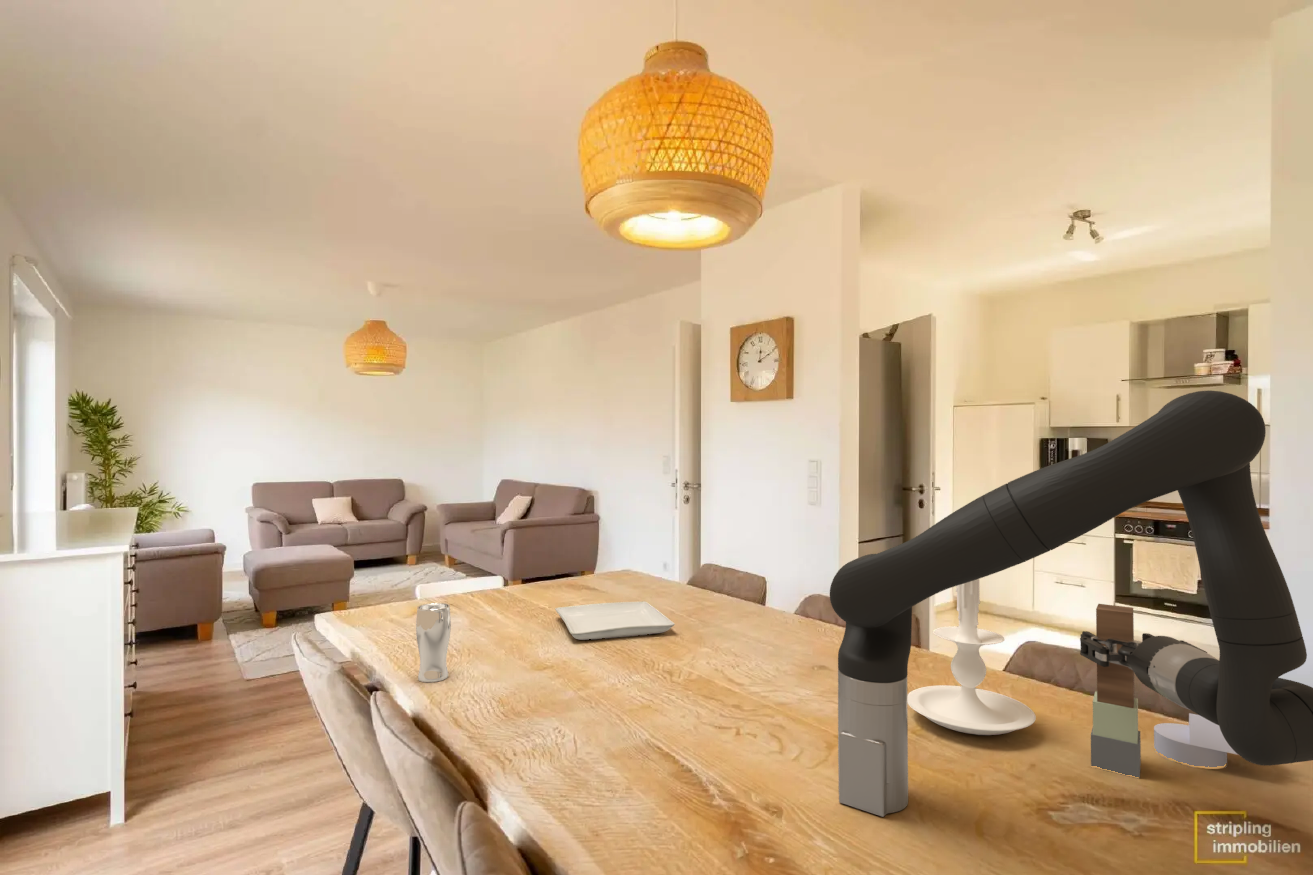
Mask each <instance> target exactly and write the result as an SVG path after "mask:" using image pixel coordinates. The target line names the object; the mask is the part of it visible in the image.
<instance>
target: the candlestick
mask: <svg viewBox="0 0 1313 875" xmlns="http://www.w3.org/2000/svg"><path fill="white" fill-rule="evenodd" d="M955 587H956V589H955V592H956V611H957V612H958V616H957V620H958V626H954V625H953V626H952V625H951V626H941V627H937V628H935V629H933V631H932V633H933V634H934V635H935V636H937V637H938V638H941V639H943V640H946V641H949V642H953V643H954V644H956V646H957V651H956V653H955V654H954V655H953V657H952V660H951V662H950V671H951V673H952V676H953V677H954V679H955V680H956V682H957V683H958V684H960V685H945V684H943V685H942V684H941V685H928V686H922V687H919V688H916V689H914V690H913V689H912V690H911V691H910V692H908V693H907V706H909V707H910V708H911V709H912V710H914V711H915V712H916V713H918V714H920V715H922V716H924V717H925V718H927V719H928V720H929V721H931V722H933V723H935V724H937V725H939V726H941V727H944V728H946V729H949V730H953V731H956V732H959V733H965V734H970V735H977V736H992V735H994V736H997V735H1002V734H1003V735H1004V734H1008V733H1011V732H1014V731H1018V730H1022V729H1025V728H1027V727H1030V726H1032V725H1033V724H1034V723H1035V721H1036V719H1037V716H1036V713H1035V712H1034V710H1032V708H1030V707H1029V706H1028V705H1026V704H1025V703H1024V702H1022V701H1019V700H1018V699H1015V698H1013V697H1010V696H1007V695H1005V694H1001V693H999V692H995V691H991V690H986V689H982V688H977V687H978V686H979V685H980V684H982V682H984V679H985V678H986V675H987V667H986V662H985V661H984V659H983V658H982V656H981V654H980V648H981V647H983V646H989V645H990V646H991V645H996V644H1001V643H1003V642H1004V641H1005V639H1006V638H1005V637H1004V636H1003V635H1002V634H999V633H997V632H995V631H991V630H988V629H985V628H984V629H983V628H978V625H979V613H980V609H979V606H980V604H981V601H980V600H981V598H980V579H977V580H974V581H970V582H967V583H964V584H961V585H957V586H955Z"/></svg>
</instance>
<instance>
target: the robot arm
mask: <svg viewBox="0 0 1313 875" xmlns="http://www.w3.org/2000/svg"><path fill="white" fill-rule="evenodd" d="M1266 430H1267V429H1266V424H1265V421H1264V418H1263V416H1262V414H1261V412H1260V411H1259V410H1258V409H1257V407H1255V405H1253V404H1252V403H1251V402H1249V401H1248V400H1246V399H1244V398H1242V397H1241V396H1238V395H1236V394H1233V393H1228V392H1224V391H1221V390H1199V391H1194V392H1189V393H1186V394H1183V395H1179V396H1177V397H1176V398H1174V399H1171V400H1170V401H1169V402H1168V403H1166V404H1165V405H1163V406H1162V407H1161V408H1160V409H1159V411H1157V412H1156V413H1155V414H1154V415H1152V416H1150V417H1149V418H1147V419H1146V420H1144V421H1143V422H1141V423H1139V424H1138V425H1136V426H1134V427H1133V428H1131V429H1130V430H1127V431H1126V432H1124V433H1123V434H1120V435H1119V436H1117V437H1116V438H1114V439H1112V440H1111V441H1108V442H1107V443H1105V444H1103V445H1101V446H1099V447H1097V448H1094V449H1092V450H1090V451H1088V452H1085V453H1083V454H1079V455H1077V456H1074V457H1071V458H1068V459H1065V460H1061V461H1059V462H1056V463H1053V464H1050V465H1047V466H1044V467H1041V468H1039V469H1036V470H1034V471H1031V472H1029V473H1027V474H1024V475H1022V476H1020V477H1017V478H1015V479H1013V480H1010V481H1009V482H1008V481H1007V483H1005V484H1002V485H1001V486H999V487H997V488H995V489H993V490H991V491H988V492H986V493H985V494H983V495H980V496H979V497H977V498H975V499H973V500H972V501H970V502H969V503H966V504H965V505H963V506H962V507H960V508H958V509H956V510H955V511H953V512H952V513H950V514H949V515H947V516H945V517H944V518H942V519H941V520H939V521H937V522H936V523H935V524H933V525H931V526H930V527H928V528H927V529H926V530H924V531H923V532H921V533H920V534H918V535H916V536H915V537H913V538H911V539H909V540H907V541H905V542H903V543H901V544H898V545H895V546H892V547H891V548H889V549H885V550H882V551H879V552H878V553H870V554H865V555H862V556H860V557H857V558H854V559H853V560H850V561H848V562H847V563H845V564H844V565H843V566H842V567H841V568H839V569H838V571H837V572H836V573H835V575H834V576H833V579H832V581H831V583H830V584H831V585H830V588H829V600H830V605H831V607H832V609H833V611H834V613H835V614H836V615H837V616H838V617H839V618H840V619H841V620H842V621H844V622H845V628H844V634H843V637H842V641H841V643H840V645H839V649H838V652H837V653H838V655H837V711H838V712H837V719H838V720H837V726H838V727H837V730H838V732H837V736H838V737H837V744H838V746H837V748H838V750H837V751H838V752H837V753H838V754H837V755H838V758H837V759H838V760H837V763H838V775H837V776H838V802H839V803H841V804H844V805H846V806H850V807H852V808H855V809H857V810H862V811H864V812H867V813H869V814H870V813H871V814H873V815H877V816H879V817H885V816H886V815H887V814H891V813H897V812H900V811H902V810H903V809H905V808H906V807H907V806H908V804H909V758H908V757H909V755H908V754H909V752H908V751H909V750H908V749H909V743H908V741H909V740H908V738H909V734H908V729H909V728H908V727H909V726H908V724H909V723H908V720H909V719H908V718H909V717H908V703H907V695H908V669H909V668H908V665H909V659H910V654H911V647H912V628H913V627H912V626H913V625H912V624H913V623H912V622H913V621H912V620H913V619H912V617H913V607H914V606H916V605H917V604H919V603H921V602H924V601H925V600H927V599H929V598H930V597H932V596H935V595H936V594H939V593H941V592H943V591H945V590H948V589H951V588H954V587H956V586H957V585H961V584H964V583H967V582H970V581H974V580H977V579H979V580H980V579H982V578H985V577H988V576H991V575H994V574H997V573H999V572H1002V571H1005V570H1007V569H1009V568H1011V567H1015V566H1017V565H1019V564H1023V563H1025V562H1028V561H1030V560H1032V559H1035V558H1037V557H1039V556H1041V555H1043V554H1045V553H1048V552H1050V551H1053V550H1055V549H1057V548H1059V547H1061V546H1064V545H1065V544H1066V543H1070V542H1071V541H1073V540H1075V539H1077V538H1079V537H1081V536H1083V535H1085V534H1087V533H1089V532H1091V531H1092V530H1094V529H1096V528H1098V527H1100V526H1102V525H1104V524H1105V523H1107V522H1109V521H1111V520H1113V519H1114V518H1117V516H1119V515H1121V514H1122V513H1124V512H1127V511H1128V510H1131V509H1132V508H1135V507H1137V506H1139V505H1142V504H1144V503H1147V502H1148V501H1152V500H1154V499H1158V498H1160V497H1162V496H1165V495H1166V496H1167V495H1168V494H1170V493H1175V492H1176V491H1177V492H1178V495H1179V497H1180V500H1181V502H1182V506H1183V508H1184V511H1185V515H1186V518H1187V521H1188V524H1189V528H1190V531H1191V534H1192V539H1193V542H1194V547H1195V552H1196V557H1197V560H1198V565H1199V569H1200V574H1201V579H1202V584H1203V589H1204V593H1205V597H1206V602H1207V605H1208V606H1207V607H1208V610H1209V613H1210V617H1211V621H1212V626H1213V628H1214V633H1215V636H1216V640H1217V644H1218V649H1219V659H1218V658H1216V657H1214V656H1213V655H1211V654H1210V653H1208V651H1206V650H1204V649H1201V648H1200V647H1197V646H1196V645H1194V644H1191V643H1189V642H1187V641H1185V640H1179V639H1177V638H1175V637H1171V636H1166V635H1153V634H1151V633H1145V632H1144V633H1142V634H1141V635H1142V636H1141V638H1142V639H1141V640H1142V641H1139V640H1135V639H1134V641H1128V640H1123V639H1119V638H1114V637H1113V638H1109V639H1103V638H1099V637H1098V636H1096V634H1094V633H1092V632H1090V631H1086V630H1085V631H1084V630H1083V631H1081V633H1080V638H1079V642H1080V651H1079V654H1080V655H1081V656H1083V657H1084V658H1085V659H1087V660H1089V661H1091V662H1093V663H1094V664H1096V665H1097V664H1098V665H1100V666H1103V667H1109V662H1111V663H1115V664H1119V665H1123V666H1126V667H1128V668H1129V669H1131V670H1133V672H1134V676H1136V677H1137V679H1138V680H1139V681H1140V682H1141V684H1143V685H1144V686H1145V687H1147V688H1149V689H1150V690H1152V691H1154V692H1155V693H1157V694H1159V695H1161V696H1162V697H1164V698H1165V699H1167V700H1169V701H1170V702H1172V703H1174V704H1176V705H1178V706H1180V707H1182V708H1184V709H1187V710H1189V711H1192V712H1194V714H1196V715H1200V716H1202V717H1203V718H1205V719H1207V720H1209V721H1211V722H1213V723H1215V724H1217V725H1219V727H1220V730H1221V732H1222V734H1223V736H1224V738H1225V740H1226V741H1227V743H1228V744H1229V746H1230V747H1231V748H1232V749H1233V750H1234V751H1235V752H1236V753H1237V754H1238V755H1237V754H1236V755H1237V756H1239V757H1241V759H1243V760H1245V761H1247V762H1249V763H1251V764H1254V765H1256V766H1265V767H1266V766H1269V767H1271V766H1278V765H1279V766H1280V765H1286V764H1294V763H1303V762H1310V761H1313V687H1312V686H1310V685H1308V684H1304V683H1301V682H1298V681H1296V680H1291V679H1287V678H1281V676H1283V675H1285V674H1287V673H1289V672H1291V671H1294V670H1296V669H1299V668H1300V667H1302V666H1303V665H1304V664H1305V663H1306V661H1307V656H1308V655H1307V648H1306V643H1305V640H1304V637H1303V632H1302V629H1301V626H1300V622H1299V618H1298V615H1297V611H1296V607H1295V605H1294V604H1295V603H1294V601H1293V598H1292V595H1291V592H1290V589H1289V586H1288V583H1287V581H1286V579H1285V576H1284V572H1283V571H1282V568H1281V566H1280V564H1279V561H1278V558H1277V556H1276V553H1275V552H1274V549H1273V547H1272V545H1271V542H1270V540H1269V538H1268V536H1267V533H1266V531H1265V528H1264V525H1263V523H1262V520H1261V516H1260V514H1259V511H1258V507H1257V504H1256V500H1255V494H1254V490H1253V483H1252V482H1253V481H1252V475H1251V472H1252V471H1251V462H1252V461H1253V460H1254V459H1255V458H1256V457H1257V456H1258V454H1259V453H1260V451H1261V449H1262V448H1263V446H1264V443H1265V438H1266ZM1101 643H1102V644H1106V646H1103V645H1101ZM1117 644H1120V645H1122V646H1121V648H1120V649H1119V650H1118V653H1117Z"/></svg>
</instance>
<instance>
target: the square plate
mask: <svg viewBox="0 0 1313 875" xmlns="http://www.w3.org/2000/svg"><path fill="white" fill-rule="evenodd" d="M554 609H555V612H556V613H557V614H558V615H559V617H560V618H561V619H562V621H563V622H564V623H565V625H566V628H567V631H568V632H569V634H571V636H572V637H573V638H574V639H576V640H581V641H586V640H587V641H588V640H589V639H591V640H602V638H605V639H614V638H616V639H617V638H625V637H626V638H627V637H636V636H638V635H640V636H648V635H647V634H649V635H654V634H655V635H656V634H661V633H666V632H667V631H669V630H670V629H672V627H674V626H675V625H676V624H675V622H674V621H672V620H671V619H670V618H668V617H667V616H666V615H664V614H663V613H662V612H661V611H659V610H658V609H657V608H656V607H655V606H653V605H651V604H650V603H649V602H647V601H645V600H644V601H622V602H621V601H619V602H618V601H617V602H602V603H599V602H598V603H590V604H589V603H587V604H581V605H580V604H579V605H571V606H561V607H555V608H554ZM638 637H639V636H638Z"/></svg>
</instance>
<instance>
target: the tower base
mask: <svg viewBox="0 0 1313 875" xmlns="http://www.w3.org/2000/svg"><path fill="white" fill-rule="evenodd" d="M1141 745H1142V744H1141V731H1140V730H1138V743H1137V744H1135V743H1130V742H1126V741H1121V740H1116V739H1111V738H1107V737H1102V736H1097V735H1093V727H1092V728H1091V732H1090V767H1091V766H1097V767H1100V768H1102V769H1107V770H1111V771H1115V772H1118V773H1122V774H1125V775H1124V776H1126V775H1132V776H1135V777H1139V778H1141V777H1140V776H1141V767H1140V766H1142V765H1141V764H1142V762H1141V761H1142V759H1141V758H1142V754H1141V752H1142V751H1141V750H1142V747H1141ZM1122 774H1121V775H1122Z"/></svg>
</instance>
